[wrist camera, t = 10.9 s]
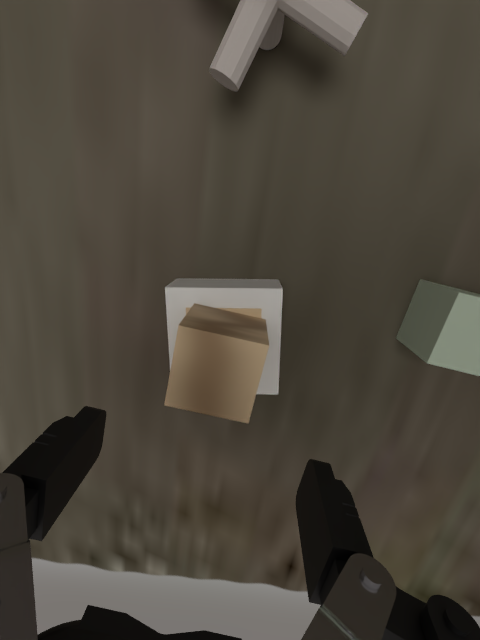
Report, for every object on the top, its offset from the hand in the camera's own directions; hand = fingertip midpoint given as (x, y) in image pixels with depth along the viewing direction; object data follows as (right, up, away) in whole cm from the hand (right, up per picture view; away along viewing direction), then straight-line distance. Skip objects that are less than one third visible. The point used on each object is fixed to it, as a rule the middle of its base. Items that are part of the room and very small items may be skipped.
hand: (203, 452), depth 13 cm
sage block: (+17, +5, +13) cm, 22 cm away
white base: (0, +5, +14) cm, 15 cm away
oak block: (0, +3, +10) cm, 11 cm away
